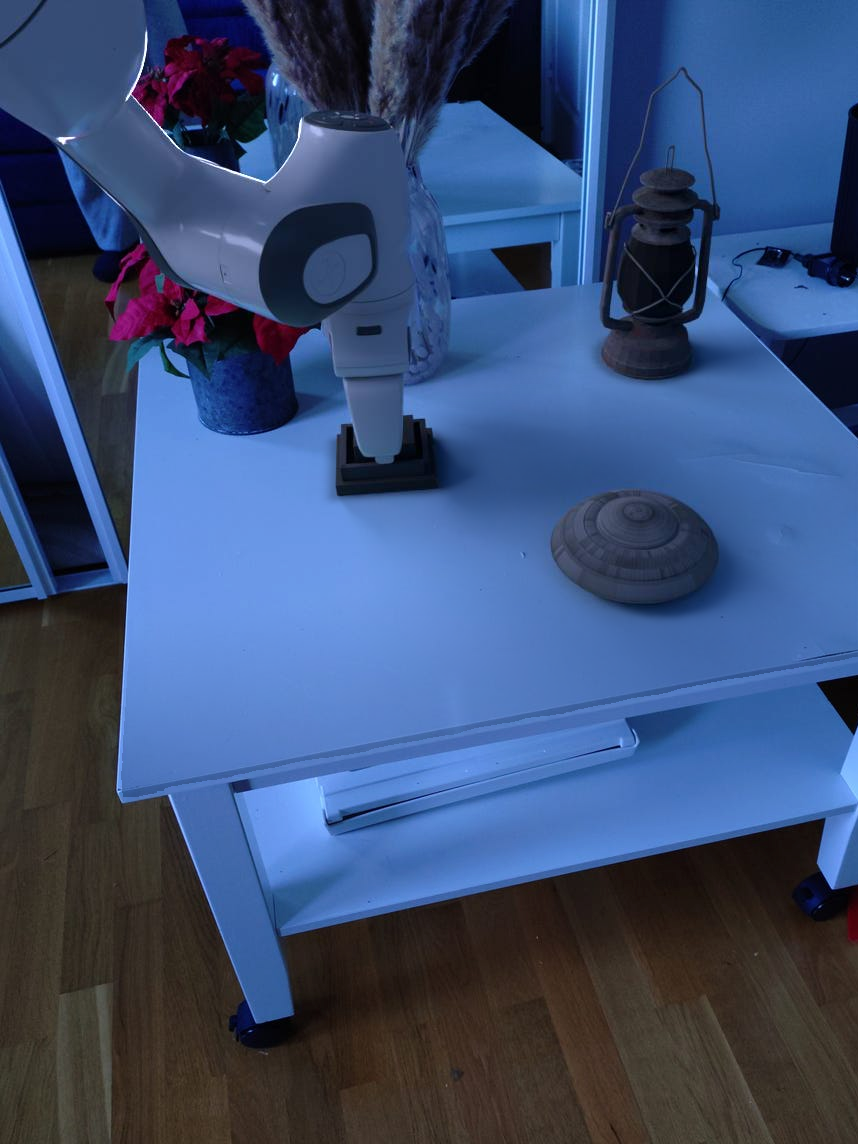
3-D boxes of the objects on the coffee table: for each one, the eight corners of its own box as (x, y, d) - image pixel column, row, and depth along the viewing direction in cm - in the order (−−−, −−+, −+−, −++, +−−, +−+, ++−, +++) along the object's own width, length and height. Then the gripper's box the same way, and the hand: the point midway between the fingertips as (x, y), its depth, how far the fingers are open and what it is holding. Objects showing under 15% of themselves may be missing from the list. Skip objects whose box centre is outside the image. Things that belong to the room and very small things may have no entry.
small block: (356, 472, 93) (352, 443, 90) (356, 443, 96) (352, 414, 94) (417, 467, 93) (414, 439, 90) (414, 439, 96) (412, 410, 94)
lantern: (683, 328, 114) (724, 45, 92) (712, 373, 106) (765, 77, 85) (584, 339, 112) (602, 54, 91) (607, 385, 105) (633, 88, 83)
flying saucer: (534, 516, 89) (536, 469, 85) (685, 497, 91) (694, 450, 87) (571, 626, 79) (574, 578, 75) (740, 603, 80) (752, 555, 76)
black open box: (337, 495, 92) (333, 472, 90) (338, 443, 98) (334, 420, 96) (437, 488, 93) (436, 465, 90) (432, 436, 99) (431, 414, 97)
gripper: (335, 261, 90) (353, 388, 100) (332, 371, 76) (352, 505, 86) (400, 257, 91) (411, 384, 101) (409, 365, 76) (420, 500, 86)
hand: (384, 441), depth 93 cm, fingers closed on small block, 5 cm apart
